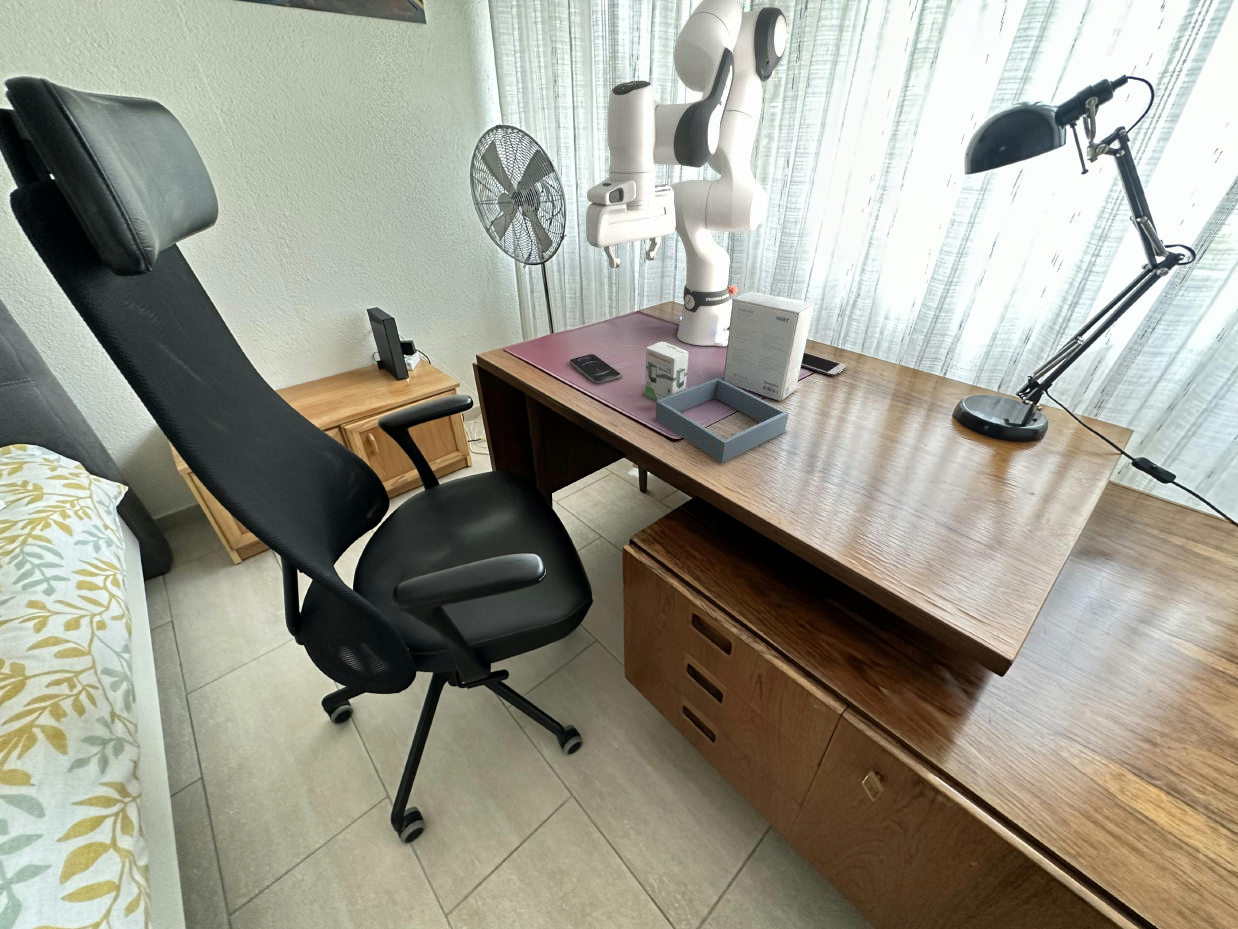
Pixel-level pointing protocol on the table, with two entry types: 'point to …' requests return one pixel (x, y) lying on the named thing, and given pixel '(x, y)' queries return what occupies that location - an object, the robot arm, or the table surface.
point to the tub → (732, 396)
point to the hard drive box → (766, 343)
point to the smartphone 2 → (821, 364)
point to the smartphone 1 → (595, 368)
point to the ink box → (665, 370)
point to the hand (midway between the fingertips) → (632, 263)
